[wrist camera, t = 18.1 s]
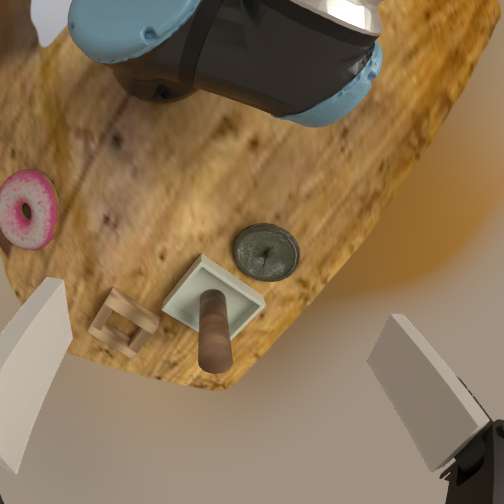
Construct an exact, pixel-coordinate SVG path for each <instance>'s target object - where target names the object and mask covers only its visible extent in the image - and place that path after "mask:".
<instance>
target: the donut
mask: <svg viewBox="0 0 504 504" xmlns="http://www.w3.org/2000/svg"><path fill="white" fill-rule="evenodd" d="M24 203H27V204H28V206H29V207H30V208H31V214H32V215H31V219H27V218H26V216H25V215H24V213H23V208H22V207H23V204H24ZM59 217H60V203H59V198H58V194H57V191H56V189H55V187H54V185H53V184H52V182H51V181H50V179H49V178H47V177H46V176H45V175H44V174H43V173H41V172H39V171H37V170H23V171H19V172H17V173H15V174H13V175H12V176H10V177H9V178H8V179H7V180H6V182H5V183H4V184H3V186H2V188H1V190H0V229H1V231H2V232H3V234H4V236H5V237H6V238H7V239H8V240H9V241H10V242H11V243H12V244H13V245H15V246H17V247H19V248H21V249H25V250H37V249H41V248H42V247H44V246H46V245H47V244H48V243H49V242H50V241H51V240H52V239H53V237H54V235H55V233H56V230H57V227H58V223H59Z"/></svg>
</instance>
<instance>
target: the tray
mask: <svg viewBox="0 0 504 504" xmlns="http://www.w3.org/2000/svg"><path fill="white" fill-rule="evenodd" d="M209 289H217V290H219V291H221V292H222V293H223V294H224V295H225V297H226V306H227V315H228V324H229V333H230V341H231V340H232V339H233V338H234V337H235V336H236V335H237V334H238V333H239V332H240V331H241V330H242V329H243V328H244V327H245V326H246V325H247V324H248V323H249V322H250V321H251V320H252V319H253V318H254V317H255V316H256V315H257V314H258V313H259V312H260V311H261V310H262V309H263V308H264V307H265V306H266V305H265V302H264V298H263V296H262V295H261V294H259V293H258V292H257V291H255V290H254V289H252V288H251V287H249V286H248V285H246V284H245V283H244V282H242V281H241V280H239V279H238V278H236V277H235V276H233V275H232V274H231V273H229V272H228V271H226V270H225V269H223V268H222V267H221V266H219V265H218V264H216V263H215V262H214V261H212V260H211V259H209V258H208V257H206V256H205V255H204V254H202V253H201V255H200V256H199V257H198V258H197V260H196V261H195V262H194V263H193V264H192V266H191V267H190V268H189V269H188V271H187V272H186V273H185V274H184V275H183V277H182V278H181V279H180V280H179V282H178V283H177V284H176V285H175V287H174V288H173V289H172V290H171V292H170V293H169V294H168V295H167V297H166V298H165V299H164V302H163V306H162V311H164V312H166V313H167V314H169V315H170V316H172V317H174V318H175V319H177V320H179V321H180V322H182V323H184V324H185V325H187V326H189V327H190V328H192V329H194V330H195V331H197V332H199V309H200V297H201V295H202V293H203V292H205V291H206V290H209Z"/></svg>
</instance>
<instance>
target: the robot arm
mask: <svg viewBox="0 0 504 504" xmlns="http://www.w3.org/2000/svg"><path fill="white" fill-rule="evenodd" d="M382 1H383V0H72V2H71V5H70V9H69V14H68V29H69V32H70V35H71V38H72V40H73V41H74V43H75V44H76V45H77V46H78V47H79V48H80V49H81V50H82V52H84V53H85V55H86V56H88V57H89V58H90V59H92V60H95V61H96V62H99V63H103V64H105V65H107V66H108V67H110V68H112V69H113V70H114V73H115V76H116V78H117V80H118V82H119V83H120V85H121V86H122V87H123V88H124V89H125V90H126V91H127V92H128V93H130V94H131V95H133V96H135V97H137V98H139V99H142V100H144V101H148V102H153V103H168V102H173V101H177V100H180V99H183V98H185V97H188V96H189V95H191V94H193V93H195V92H196V91H197V90H199V89H201V90H204V91H207V92H210V93H214V94H217V95H220V96H223V97H226V98H229V99H232V100H235V101H238V102H241V103H243V104H246V105H249V106H252V107H254V108H257V109H260V110H262V111H265V112H267V113H270V114H271V115H272V116H274V117H276V118H280V119H282V120H290V121H293V122H295V123H298V124H301V125H303V126H306V127H314V128H316V127H323V126H327V125H330V124H332V123H334V122H336V121H338V120H340V119H341V118H343V117H344V116H345V115H347V114H348V113H349V112H350V111H351V110H353V109H354V108H355V107H356V106H357V105H358V104H359V103H360V101H361V100H362V99H363V98H364V97H365V95H366V94H367V93H368V91H369V90H370V88H371V87H372V85H371V81H372V80H373V79H374V78H376V77H377V76H378V74H379V71H380V69H381V65H382V59H383V53H382V49H381V46H380V44H379V43H378V41H377V40H376V39H377V38H378V37H379V36H380V35H381V33H382V31H383V26H382V22H381V19H380V15H379V4H380V3H381V2H382ZM72 339H73V337H72V332H71V326H70V321H69V315H68V308H67V301H66V294H65V286H64V280H61V279H56V278H51V277H47V278H46V279H45V280H44V281H43V282H42V283H41V284H40V285H39V287H38V288H37V289H36V290H35V291H34V292H33V294H32V295H31V296H30V297H29V298H28V299H27V301H26V302H25V303H24V304H23V305H22V307H21V308H20V309H19V310H18V312H17V313H16V314H15V315H14V317H13V318H12V319H11V320H10V322H9V323H8V324H7V326H6V327H5V328H4V330H3V331H2V332H1V334H0V466H1V467H2V468H4V469H6V470H8V471H11V472H13V473H15V474H17V473H18V469H19V466H20V463H21V460H22V456H23V453H24V451H25V448H26V445H27V442H28V439H29V436H30V433H31V430H32V428H33V425H34V423H35V420H36V418H37V415H38V413H39V410H40V407H41V405H42V403H43V400H44V398H45V396H46V393H47V391H48V388H49V386H50V384H51V382H52V380H53V378H54V375H55V373H56V371H57V369H58V367H59V365H60V363H61V361H62V359H63V356H64V355H65V353H66V351H67V349H68V347H69V345H70V343H71V341H72ZM367 362H368V364H369V366H370V367H371V369H372V371H373V372H374V374H375V375H376V377H377V379H378V381H379V382H380V384H381V386H382V387H383V389H384V391H385V392H386V394H387V396H388V397H389V399H390V401H391V402H392V404H393V406H394V407H395V409H396V411H397V413H398V414H399V416H400V418H401V420H402V421H403V423H404V425H405V427H406V428H407V430H408V432H409V434H410V435H411V437H412V439H413V441H414V443H415V444H416V446H417V448H418V450H419V452H420V453H421V455H422V457H423V459H424V461H425V462H426V464H427V466H428V468H429V470H430V472H433V471H435V470H437V469H439V468H441V467H443V466H445V465H446V464H447V463H448V462H449V461H450V460H451V459H453V458H455V459H456V461H455V462H454V463H453V464H452V465H451V466H449V467H448V468H447V469H446V470H445V471H444V472H443V473H442V474H441V475H440V479H442V478H443V477H444V476H446V475H447V474H448V473H449V472H451V473H450V474H449V475H448V476H447V477H446V478H445V480H447V481H449V486H448V492H447V498H446V503H445V504H504V420H499V419H498V420H496V421H495V422H493V421H492V419H491V418H490V417H489V416H488V414H487V413H486V412H485V410H484V409H483V408H482V406H481V405H480V404H479V402H478V401H477V400H476V398H475V397H474V396H472V393H471V392H470V391H469V390H467V387H466V386H465V384H464V383H463V382H462V381H461V379H459V378H458V377H457V376H456V375H455V374H454V373H453V372H452V371H451V369H450V368H449V367H448V366H447V365H446V363H445V362H444V361H443V360H442V358H441V357H440V356H439V355H438V354H437V353H436V351H435V350H434V349H433V348H432V347H431V346H430V344H429V343H428V342H427V341H426V340H425V339H424V338H423V336H422V335H421V334H420V333H419V332H418V331H417V329H416V328H415V327H414V326H413V325H412V324H411V323H410V321H408V319H407V318H406V317H405V316H404V315H403V314H390V315H389V318H388V320H387V322H386V324H385V326H384V328H383V330H382V332H381V335H380V337H379V338H378V341H377V343H376V345H375V347H374V348H373V350H372V352H371V355H370V356H369V358H368V360H367ZM0 504H4V502H3V500H2V498H1V495H0Z"/></svg>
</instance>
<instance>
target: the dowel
mask: <svg viewBox="0 0 504 504" xmlns="http://www.w3.org/2000/svg"><path fill="white" fill-rule="evenodd" d="M198 363H199V366H200V368H201V369H202V370H204V371H206V372H208V373H212V374H218V373H223V372H225V371H227V370H229V369H230V368H231V366H232V364H233V358H232V350H231V342H230V333H229V324H228V315H227V306H226V297H225V295H224V294H223V293H222V292H221V291H219V290H217V289H209V290H206V291H205V292H203V293H202V295H201V297H200V309H199V348H198Z"/></svg>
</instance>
